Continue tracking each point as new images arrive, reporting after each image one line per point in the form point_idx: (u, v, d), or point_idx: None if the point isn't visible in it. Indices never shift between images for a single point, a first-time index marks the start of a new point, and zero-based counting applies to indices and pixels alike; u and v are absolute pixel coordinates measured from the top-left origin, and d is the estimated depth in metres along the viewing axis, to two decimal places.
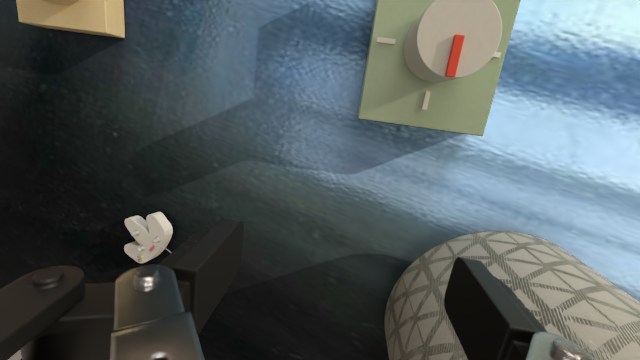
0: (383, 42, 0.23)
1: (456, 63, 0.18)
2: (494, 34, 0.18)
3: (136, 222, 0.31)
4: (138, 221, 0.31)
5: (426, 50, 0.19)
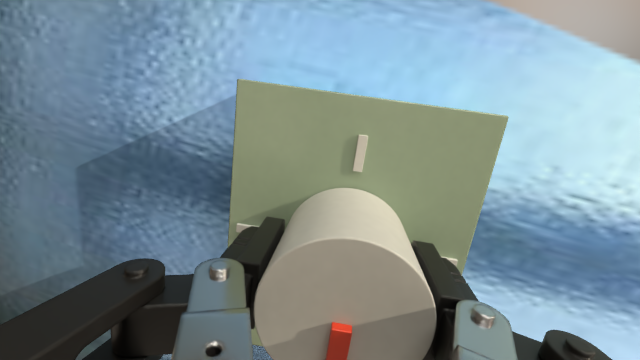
0: None
1: None
2: (419, 327, 0.08)
3: None
4: None
5: (276, 342, 0.09)
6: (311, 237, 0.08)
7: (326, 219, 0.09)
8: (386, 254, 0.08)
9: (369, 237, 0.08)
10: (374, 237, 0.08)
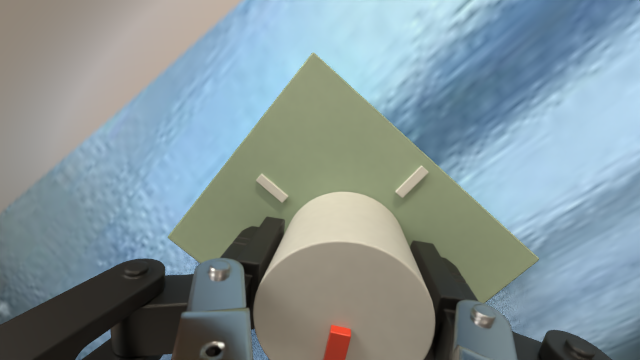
0: None
1: None
2: (418, 333, 0.08)
3: None
4: None
5: (275, 343, 0.09)
6: (315, 239, 0.08)
7: (329, 222, 0.09)
8: (388, 259, 0.08)
9: (372, 241, 0.08)
10: (377, 241, 0.08)
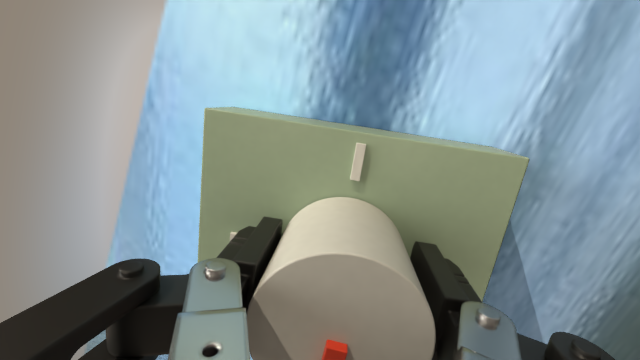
0: None
1: None
2: (417, 351, 0.08)
3: None
4: None
5: (267, 356, 0.08)
6: (314, 250, 0.07)
7: (329, 231, 0.08)
8: (390, 273, 0.07)
9: (375, 255, 0.07)
10: (379, 254, 0.08)
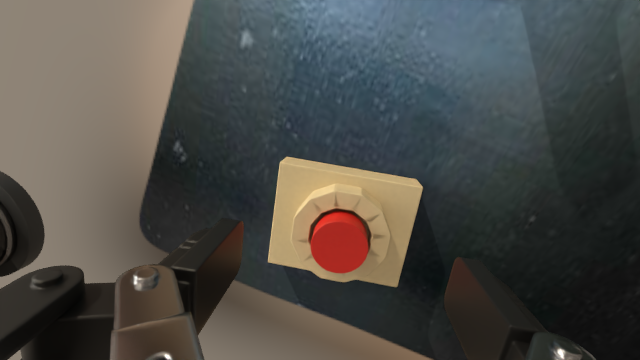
0: None
1: None
2: None
3: None
4: None
5: None
6: None
7: None
8: None
9: None
10: None
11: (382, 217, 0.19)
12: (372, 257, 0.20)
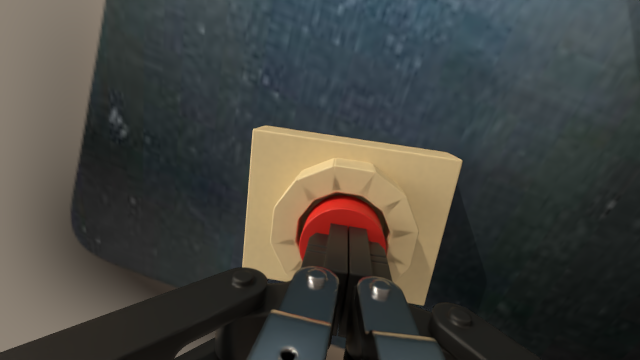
0: None
1: None
2: None
3: None
4: None
5: None
6: None
7: None
8: None
9: None
10: None
11: (406, 204, 0.13)
12: (391, 265, 0.14)
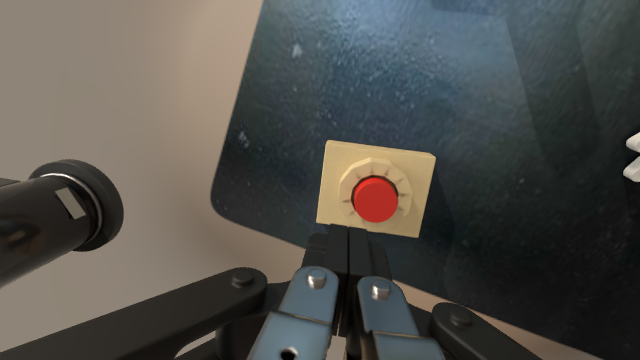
0: None
1: None
2: None
3: None
4: (638, 165, 0.26)
5: None
6: None
7: None
8: None
9: None
10: None
11: (406, 180, 0.26)
12: (399, 211, 0.27)
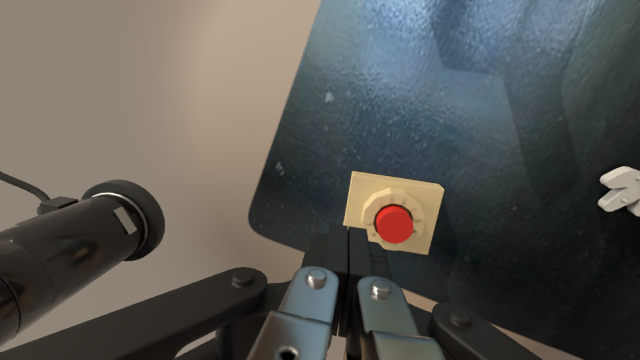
0: None
1: None
2: None
3: (611, 199, 0.32)
4: (609, 198, 0.32)
5: None
6: None
7: None
8: None
9: None
10: None
11: (420, 208, 0.31)
12: (413, 234, 0.32)
